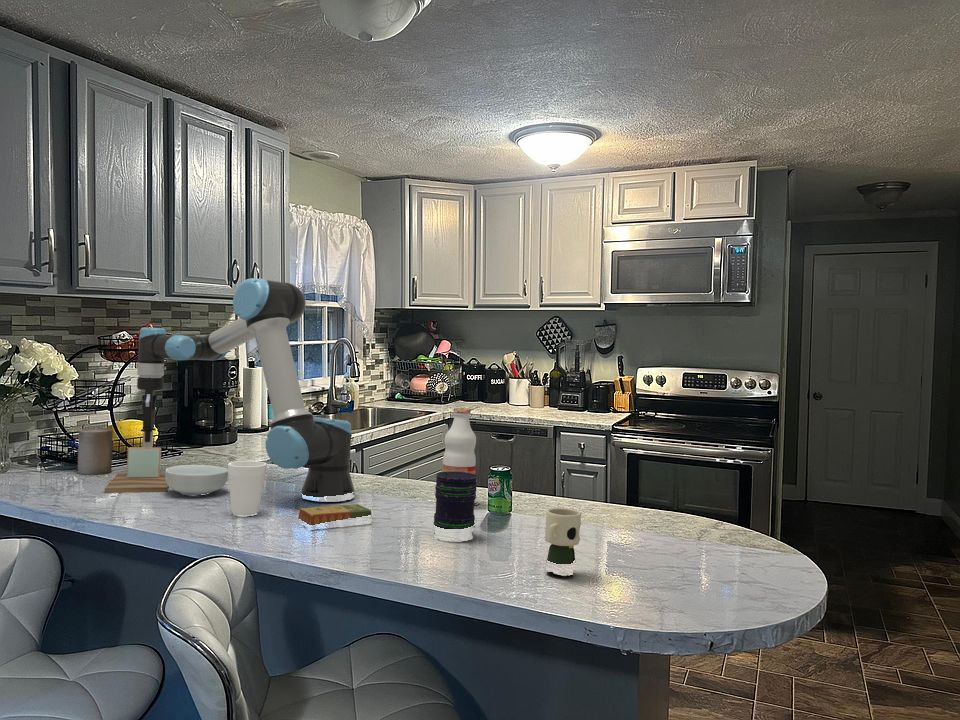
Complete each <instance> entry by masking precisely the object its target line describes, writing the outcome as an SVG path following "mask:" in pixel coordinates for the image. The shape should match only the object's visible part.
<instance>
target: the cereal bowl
mask: <svg viewBox="0 0 960 720" xmlns="http://www.w3.org/2000/svg"><path fill="white" fill-rule="evenodd" d="M227 472H228V467H224V466H223V467H222V466H218V465H207V464H182V465H181V464H180V465H174V466H170V467H167V468H166V469H165V471H164V473H165V479H166V483H167V484H168V486H169V488H170V489H171V490H173V491H176V492H179V493H180V495H182V494H183V495H182V496H184V495H201V494H207V493H210V494H211V493H213V492H216V491H218V490H220V489H222V488H223V487H224V486H225V485H226V483H227V481H228V479H229V476H228V473H227Z"/></svg>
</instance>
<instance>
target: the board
mask: <svg viewBox="0 0 960 720" xmlns="http://www.w3.org/2000/svg"><path fill="white" fill-rule="evenodd" d="M169 488H170V487H169V486H168V484H167V483H166V479H165V472H160V477H159V478H127V472H117V474H116V475H115V476H114V478H112V479H111V480H110V482H109V483H108V484H107V485H106V487H104V493H111V494H112V493H165V492H166V493H167V492H168V490H169Z"/></svg>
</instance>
